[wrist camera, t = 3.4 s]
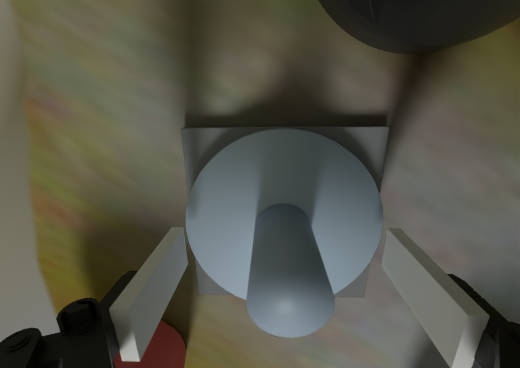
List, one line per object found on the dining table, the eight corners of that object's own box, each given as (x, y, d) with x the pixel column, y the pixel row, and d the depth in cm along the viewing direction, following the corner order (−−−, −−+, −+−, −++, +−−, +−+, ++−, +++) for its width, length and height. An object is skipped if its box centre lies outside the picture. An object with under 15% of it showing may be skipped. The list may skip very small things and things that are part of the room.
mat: (184, 127, 18) (180, 128, 17) (384, 125, 17) (389, 127, 17) (201, 287, 22) (198, 294, 22) (360, 290, 22) (364, 297, 21)
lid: (181, 128, 17) (108, 151, 9) (389, 127, 17) (493, 150, 9) (198, 294, 22) (159, 402, 14) (364, 297, 21) (418, 412, 13)
